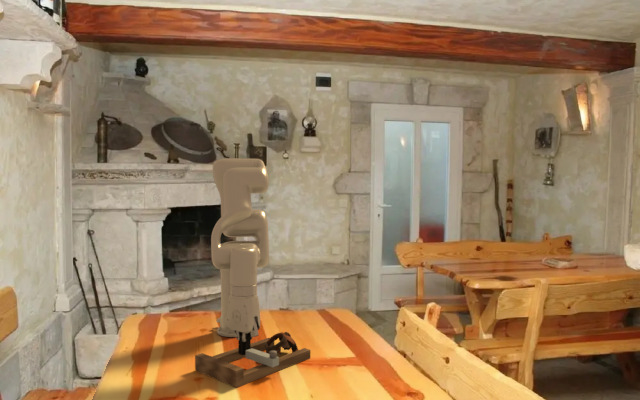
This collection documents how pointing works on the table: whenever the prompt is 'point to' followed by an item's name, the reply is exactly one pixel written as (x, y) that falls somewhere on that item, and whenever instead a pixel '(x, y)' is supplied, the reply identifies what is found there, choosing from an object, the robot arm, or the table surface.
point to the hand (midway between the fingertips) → (244, 353)
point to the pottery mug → (281, 343)
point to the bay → (235, 374)
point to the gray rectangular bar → (263, 357)
